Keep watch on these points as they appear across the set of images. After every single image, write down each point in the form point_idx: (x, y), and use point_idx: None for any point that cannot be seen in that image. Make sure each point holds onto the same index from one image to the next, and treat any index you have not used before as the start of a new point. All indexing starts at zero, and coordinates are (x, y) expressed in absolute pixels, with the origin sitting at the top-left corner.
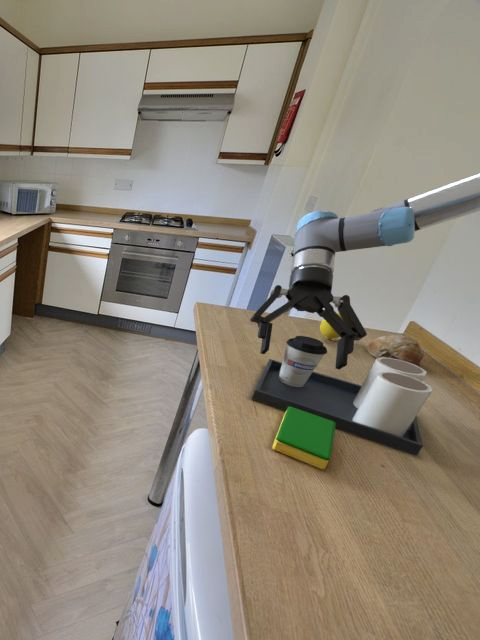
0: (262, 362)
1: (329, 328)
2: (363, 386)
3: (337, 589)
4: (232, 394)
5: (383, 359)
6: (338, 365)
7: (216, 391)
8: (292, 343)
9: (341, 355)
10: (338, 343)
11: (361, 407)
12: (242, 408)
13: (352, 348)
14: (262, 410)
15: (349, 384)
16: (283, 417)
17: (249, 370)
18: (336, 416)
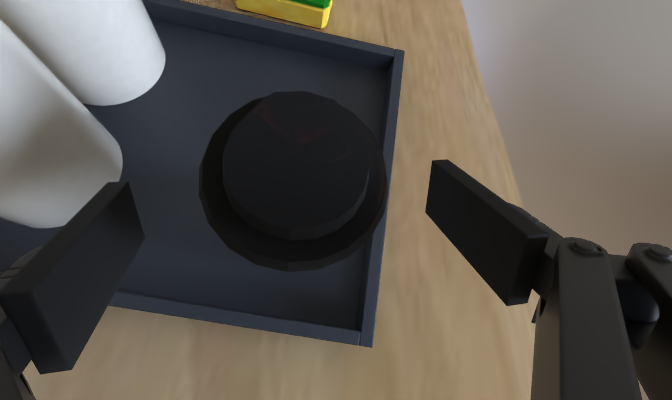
0: (376, 391)
1: None
2: (82, 127)
3: None
4: (437, 73)
5: None
6: (136, 217)
7: (471, 68)
8: (370, 137)
9: (111, 224)
10: (81, 334)
11: (146, 18)
12: (409, 21)
13: (19, 263)
14: (369, 33)
15: None
16: (329, 12)
17: (414, 265)
18: (218, 11)
